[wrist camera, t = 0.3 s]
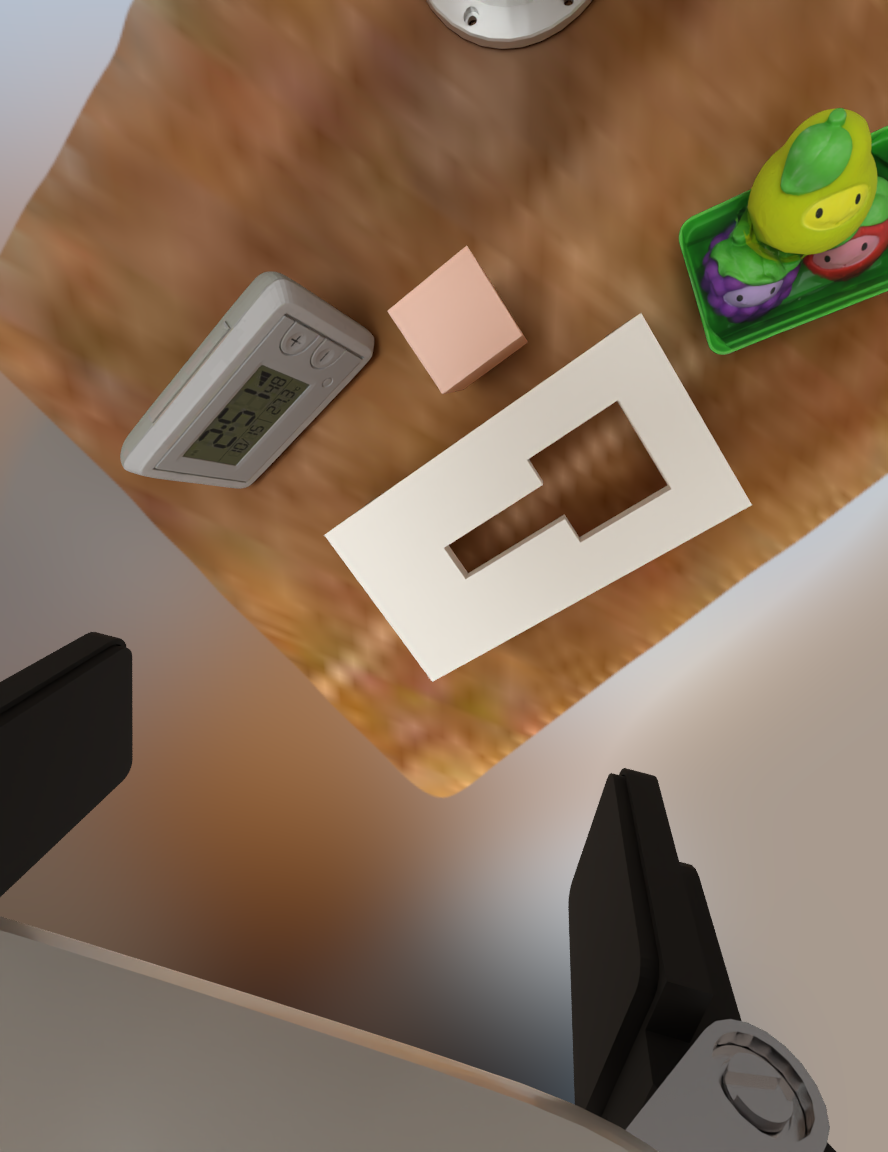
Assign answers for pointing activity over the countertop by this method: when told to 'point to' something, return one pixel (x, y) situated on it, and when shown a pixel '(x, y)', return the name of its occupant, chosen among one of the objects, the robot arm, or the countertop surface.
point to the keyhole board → (505, 475)
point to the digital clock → (249, 387)
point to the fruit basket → (794, 235)
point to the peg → (457, 323)
